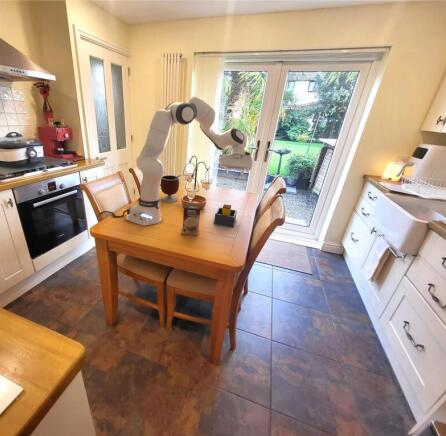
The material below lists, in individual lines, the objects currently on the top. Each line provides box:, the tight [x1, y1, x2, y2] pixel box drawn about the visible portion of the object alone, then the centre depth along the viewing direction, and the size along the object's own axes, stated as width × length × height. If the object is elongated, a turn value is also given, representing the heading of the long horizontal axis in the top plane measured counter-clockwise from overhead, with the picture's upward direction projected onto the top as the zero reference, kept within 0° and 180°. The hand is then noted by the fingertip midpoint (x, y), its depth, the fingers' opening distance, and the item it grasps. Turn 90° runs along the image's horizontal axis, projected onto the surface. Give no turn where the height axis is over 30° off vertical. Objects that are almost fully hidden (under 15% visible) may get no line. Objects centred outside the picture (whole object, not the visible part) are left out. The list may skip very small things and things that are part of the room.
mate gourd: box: [160, 174, 182, 203], centre depth 176 cm, size 16×14×20 cm
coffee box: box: [181, 203, 201, 236], centre depth 129 cm, size 9×6×16 cm
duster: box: [222, 203, 232, 216], centre depth 144 cm, size 5×5×10 cm
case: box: [213, 207, 238, 228], centre depth 145 cm, size 12×12×7 cm
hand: (233, 173), depth 145 cm, fingers open, 8 cm apart
